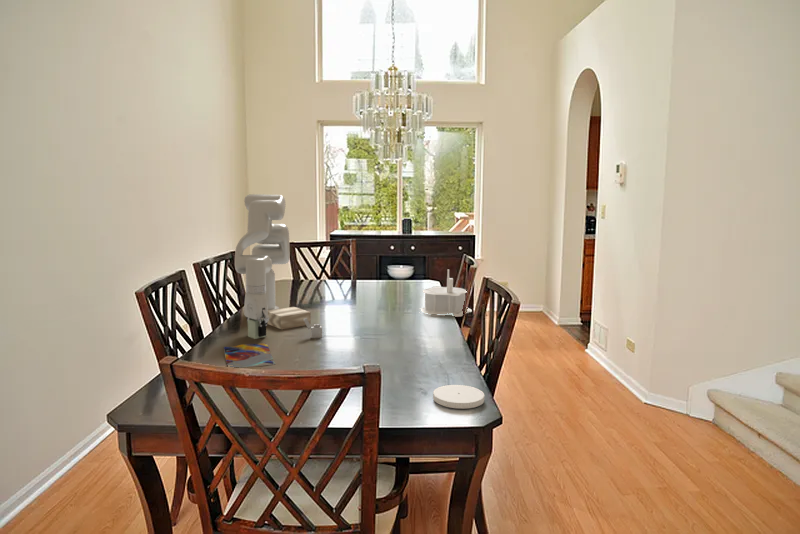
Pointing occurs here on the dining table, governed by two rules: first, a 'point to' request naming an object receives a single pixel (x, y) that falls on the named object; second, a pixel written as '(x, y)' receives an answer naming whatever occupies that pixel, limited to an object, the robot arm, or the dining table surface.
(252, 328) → the sage block
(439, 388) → the plastic lid
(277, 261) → the robot arm
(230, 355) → the relief map
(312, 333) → the lighter
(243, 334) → the dining table surface
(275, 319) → the birch block
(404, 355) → the dining table surface
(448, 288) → the birthday cake
